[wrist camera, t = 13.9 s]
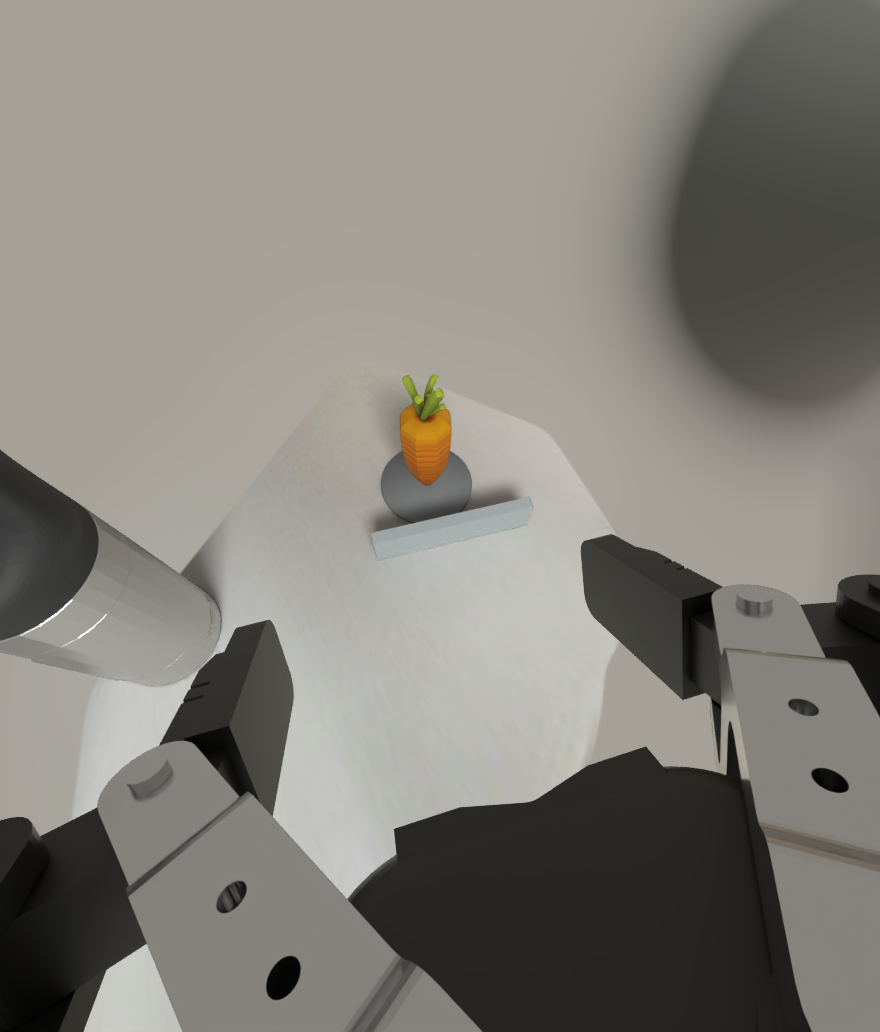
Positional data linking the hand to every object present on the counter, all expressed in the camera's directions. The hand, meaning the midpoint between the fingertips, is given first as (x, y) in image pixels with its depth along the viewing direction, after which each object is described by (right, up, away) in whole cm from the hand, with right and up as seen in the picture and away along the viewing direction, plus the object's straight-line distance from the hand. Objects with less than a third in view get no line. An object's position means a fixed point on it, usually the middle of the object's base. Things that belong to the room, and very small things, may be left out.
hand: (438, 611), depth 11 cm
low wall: (+1, 0, +35) cm, 35 cm away
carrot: (-1, +6, +38) cm, 38 cm away
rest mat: (-1, +6, +38) cm, 38 cm away
